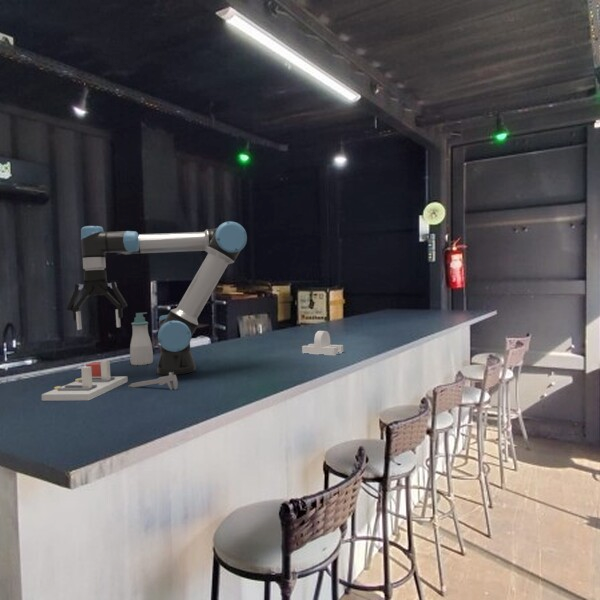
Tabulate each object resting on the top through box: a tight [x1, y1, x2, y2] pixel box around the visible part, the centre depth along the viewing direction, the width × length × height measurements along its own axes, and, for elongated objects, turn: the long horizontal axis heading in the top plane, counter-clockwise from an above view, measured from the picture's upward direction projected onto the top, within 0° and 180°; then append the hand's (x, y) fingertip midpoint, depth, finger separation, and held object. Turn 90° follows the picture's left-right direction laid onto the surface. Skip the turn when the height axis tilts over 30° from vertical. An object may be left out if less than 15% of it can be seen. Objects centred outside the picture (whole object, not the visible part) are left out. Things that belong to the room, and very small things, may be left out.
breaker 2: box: [99, 359, 112, 380], centre depth 168 cm, size 2×2×7 cm
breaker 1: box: [81, 366, 92, 388], centre depth 156 cm, size 2×2×7 cm
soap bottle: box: [129, 312, 154, 366], centre depth 211 cm, size 10×10×23 cm
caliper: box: [127, 372, 179, 391], centre depth 163 cm, size 20×1×6 cm, turn 69°
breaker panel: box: [41, 376, 129, 402], centre depth 163 cm, size 16×26×3 cm, turn 174°
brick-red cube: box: [85, 361, 101, 377], centre depth 182 cm, size 6×6×6 cm
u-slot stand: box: [301, 330, 344, 356], centre depth 225 cm, size 10×18×11 cm, turn 59°
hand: (99, 328), depth 171 cm, fingers open, 13 cm apart
